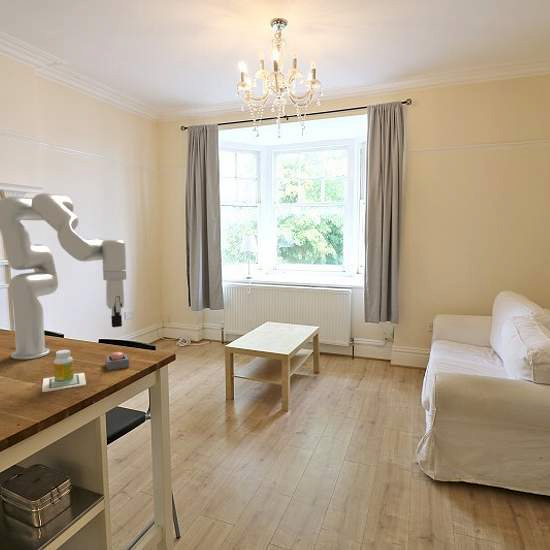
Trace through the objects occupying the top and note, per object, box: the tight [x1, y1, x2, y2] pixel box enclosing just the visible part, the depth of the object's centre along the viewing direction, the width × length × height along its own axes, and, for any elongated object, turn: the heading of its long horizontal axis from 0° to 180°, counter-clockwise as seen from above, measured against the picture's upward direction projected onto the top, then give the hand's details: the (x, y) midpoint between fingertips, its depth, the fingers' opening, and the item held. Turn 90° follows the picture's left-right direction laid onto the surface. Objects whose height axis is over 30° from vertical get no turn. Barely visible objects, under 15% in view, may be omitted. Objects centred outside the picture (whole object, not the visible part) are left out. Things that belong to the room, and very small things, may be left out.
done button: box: [110, 351, 124, 361], centre depth 142 cm, size 4×4×2 cm
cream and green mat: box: [41, 372, 87, 393], centre depth 127 cm, size 11×12×1 cm
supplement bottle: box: [53, 349, 74, 384], centre depth 126 cm, size 5×5×10 cm
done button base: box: [105, 353, 130, 371], centre depth 143 cm, size 7×7×3 cm
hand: (116, 326), depth 141 cm, fingers closed
